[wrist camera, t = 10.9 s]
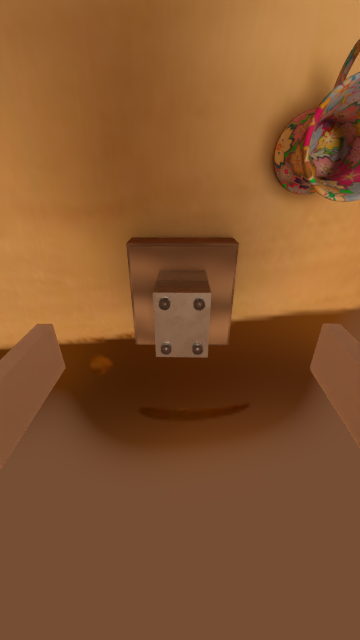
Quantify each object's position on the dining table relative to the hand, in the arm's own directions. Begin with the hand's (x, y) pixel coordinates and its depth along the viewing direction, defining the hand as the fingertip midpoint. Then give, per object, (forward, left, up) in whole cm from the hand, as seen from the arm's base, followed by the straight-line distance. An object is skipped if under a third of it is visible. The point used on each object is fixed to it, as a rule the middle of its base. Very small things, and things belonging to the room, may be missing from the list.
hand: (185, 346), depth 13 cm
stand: (+7, 0, -26) cm, 27 cm away
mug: (-12, +15, -26) cm, 32 cm away
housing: (+7, 0, -22) cm, 23 cm away
